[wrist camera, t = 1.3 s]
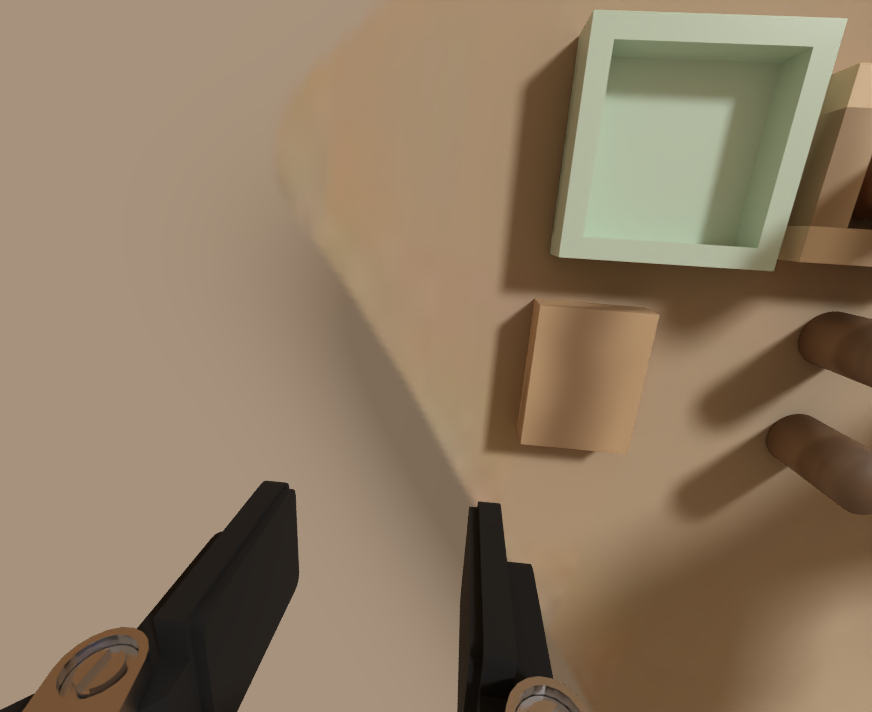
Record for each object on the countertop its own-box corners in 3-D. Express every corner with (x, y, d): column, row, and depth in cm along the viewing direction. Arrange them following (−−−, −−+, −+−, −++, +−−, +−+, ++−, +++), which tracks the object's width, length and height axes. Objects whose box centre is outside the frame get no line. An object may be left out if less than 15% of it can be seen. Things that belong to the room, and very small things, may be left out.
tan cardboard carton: (641, 305, 24) (659, 314, 21) (613, 434, 26) (627, 454, 24) (533, 297, 24) (540, 305, 22) (516, 425, 26) (520, 444, 24)
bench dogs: (867, 313, 23) (973, 337, 18) (812, 462, 25) (892, 517, 20) (808, 309, 23) (898, 331, 18) (760, 457, 25) (827, 511, 21)
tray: (801, 43, 19) (847, 18, 17) (741, 266, 22) (773, 271, 20) (579, 35, 20) (593, 9, 18) (549, 253, 23) (558, 257, 21)
